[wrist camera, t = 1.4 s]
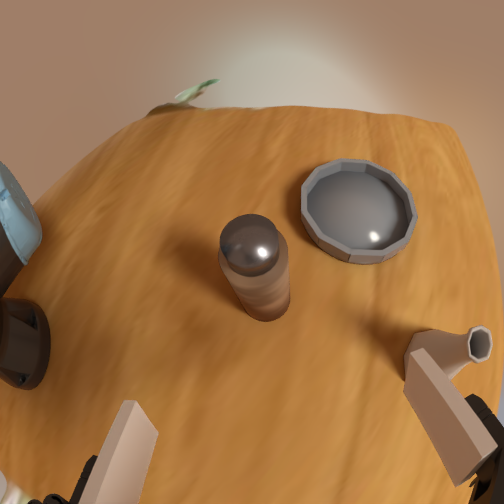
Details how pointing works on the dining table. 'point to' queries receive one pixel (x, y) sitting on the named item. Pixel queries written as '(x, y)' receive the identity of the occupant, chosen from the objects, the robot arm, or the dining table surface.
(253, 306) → the pepper mill
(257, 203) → the dining table surface
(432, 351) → the flask
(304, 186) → the round grey tray
